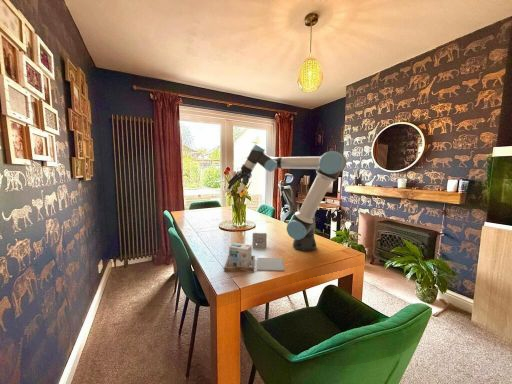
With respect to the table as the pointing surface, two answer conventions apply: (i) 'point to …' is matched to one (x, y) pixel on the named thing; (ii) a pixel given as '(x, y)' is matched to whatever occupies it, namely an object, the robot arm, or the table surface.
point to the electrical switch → (259, 240)
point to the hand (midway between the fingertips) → (233, 191)
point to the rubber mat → (270, 264)
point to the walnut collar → (239, 269)
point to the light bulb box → (240, 255)
